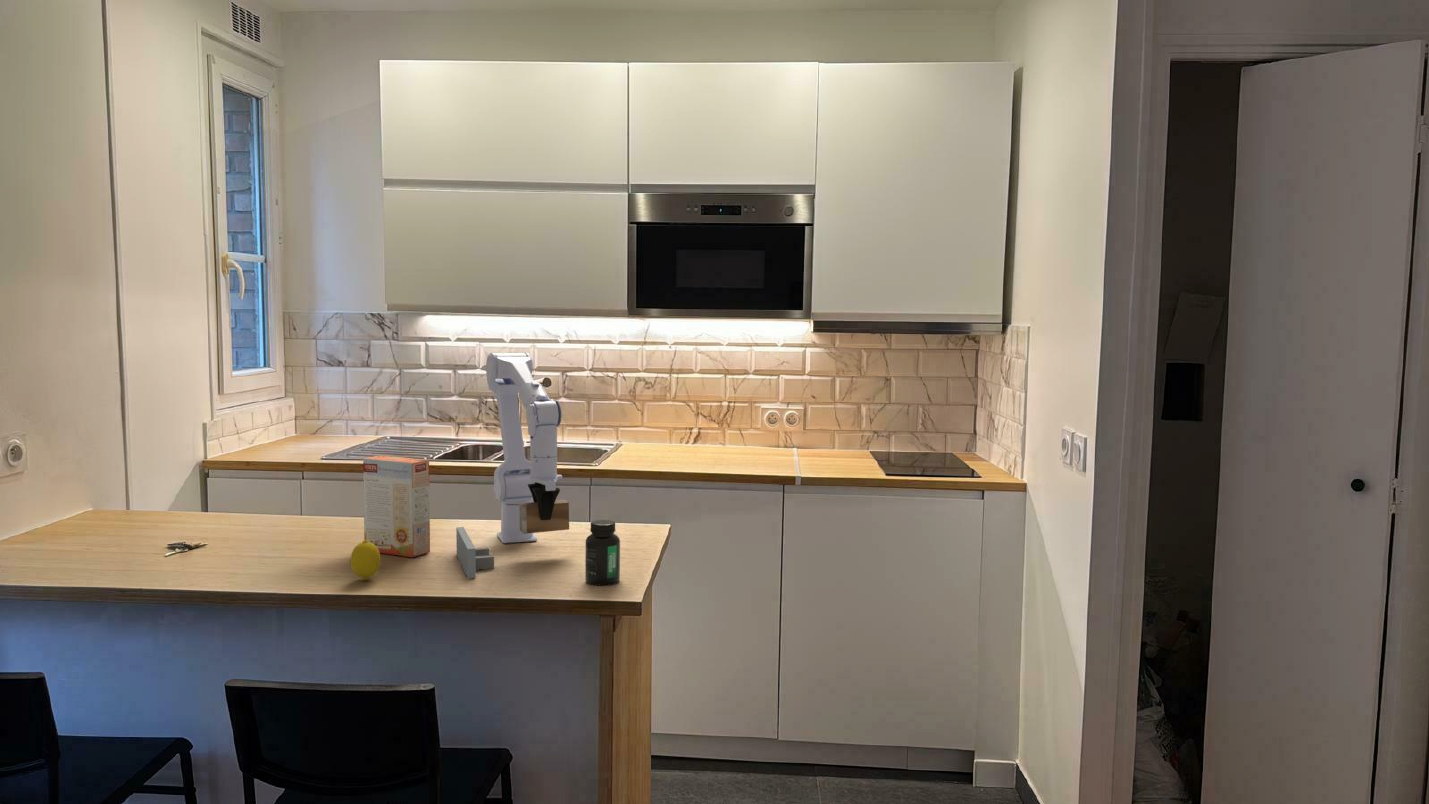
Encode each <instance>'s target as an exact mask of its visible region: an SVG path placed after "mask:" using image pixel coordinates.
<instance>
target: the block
mask: <svg viewBox="0 0 1429 804" xmlns="http://www.w3.org/2000/svg"><path fill="white" fill-rule="evenodd" d="M569 503H570V502H569V501H567V500H566V499H556V500H555V503H554V507H553V512H552V516H551V520H541V519H540V515H539V509H538V502H530V503H520V504H519V515H520V531H521V532H522V533H523V534H528V533H533V534H535V533H537V534H538V533H547V532H557V531H568V530H570V505H569Z"/></svg>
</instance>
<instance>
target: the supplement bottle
mask: <svg viewBox="0 0 1429 804" xmlns="http://www.w3.org/2000/svg"><path fill="white" fill-rule="evenodd" d="M589 532H590V533H591V534H590V535H588V536H587V537H586V539H585V559H584V560H585V561H584V562H585V564H584V565H585V569H584V570H585V571H584V574H585V581H586V583H587V584H589V585H592V586H600V587H601V586H602V587H604V586H606V587H607V586H611V585H615V584H617V583H618V582H619V581H620V578H621V577H620V576H621V575H620V574H621V540H620V537H619V536H618V535H617V534H616V533H615V532H616V522H615V521H614V520H610V519H597V520H596V519H595V520H592V521H591V522H590V528H589Z"/></svg>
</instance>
